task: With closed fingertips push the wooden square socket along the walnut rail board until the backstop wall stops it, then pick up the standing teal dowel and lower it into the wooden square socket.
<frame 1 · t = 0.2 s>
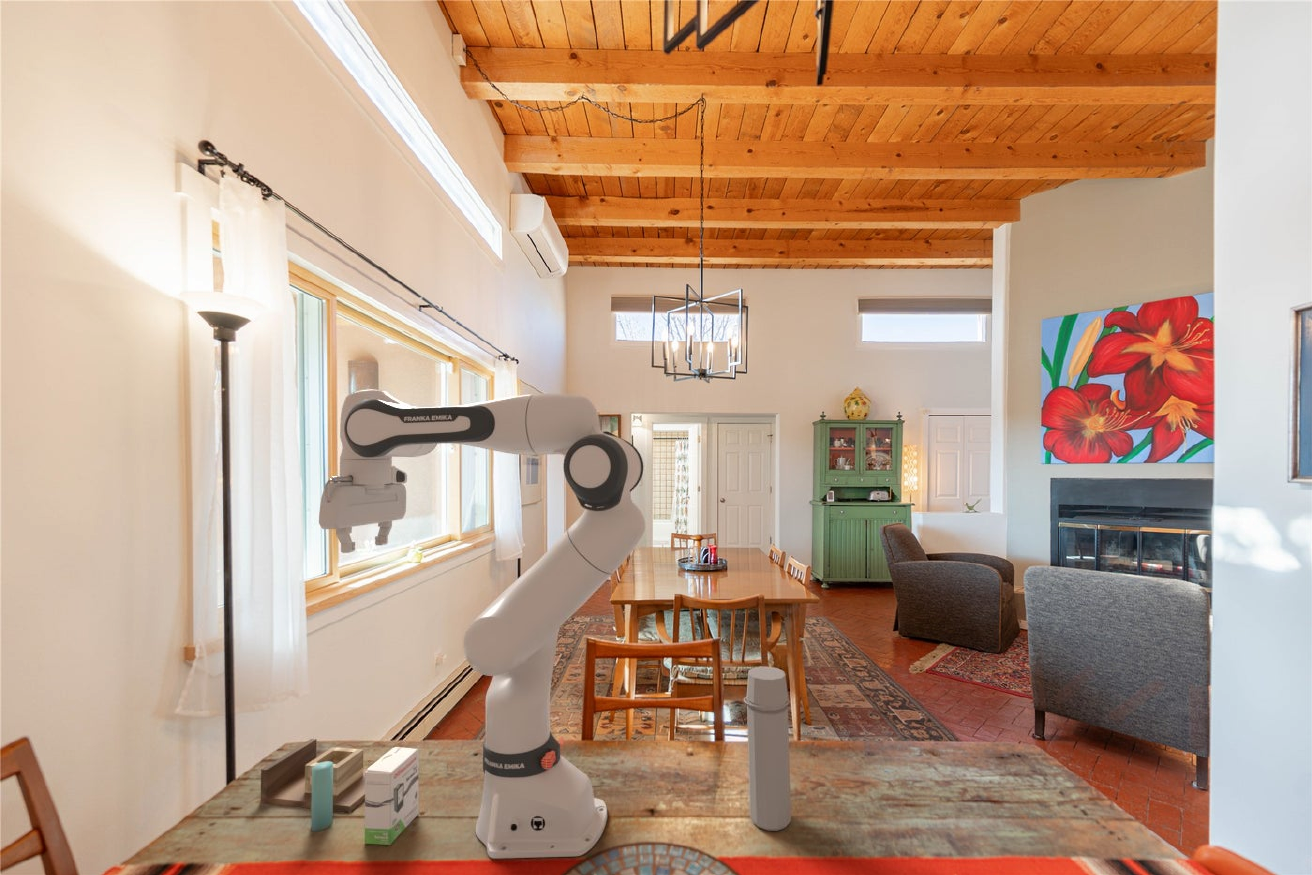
hand: (365, 548, 105), 47 cm above the table, fingers open, 8 cm apart
wooden square socket: (334, 770, 108), point 4 cm above the table, slide at 0.0 cm
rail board: (329, 788, 108), on the table
water bottle: (768, 817, 97), on the table
dowel: (321, 824, 97), on the table
ink box: (392, 829, 96), on the table
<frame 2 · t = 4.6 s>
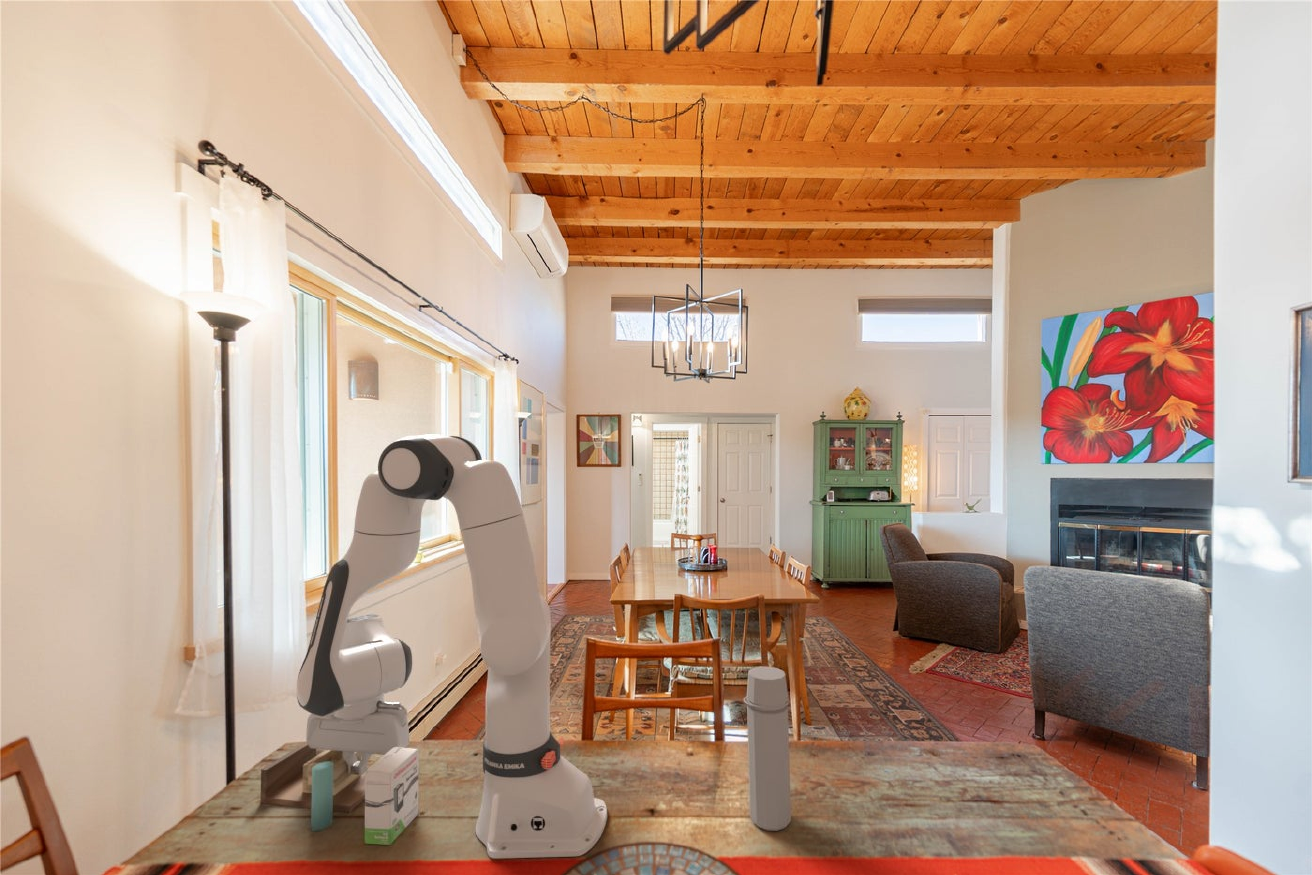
hand: (357, 772, 107), 3 cm above the table, fingers closed
wooden square socket: (332, 770, 108), point 4 cm above the table, slide at 0.5 cm, touching gripper
everything else where it was.
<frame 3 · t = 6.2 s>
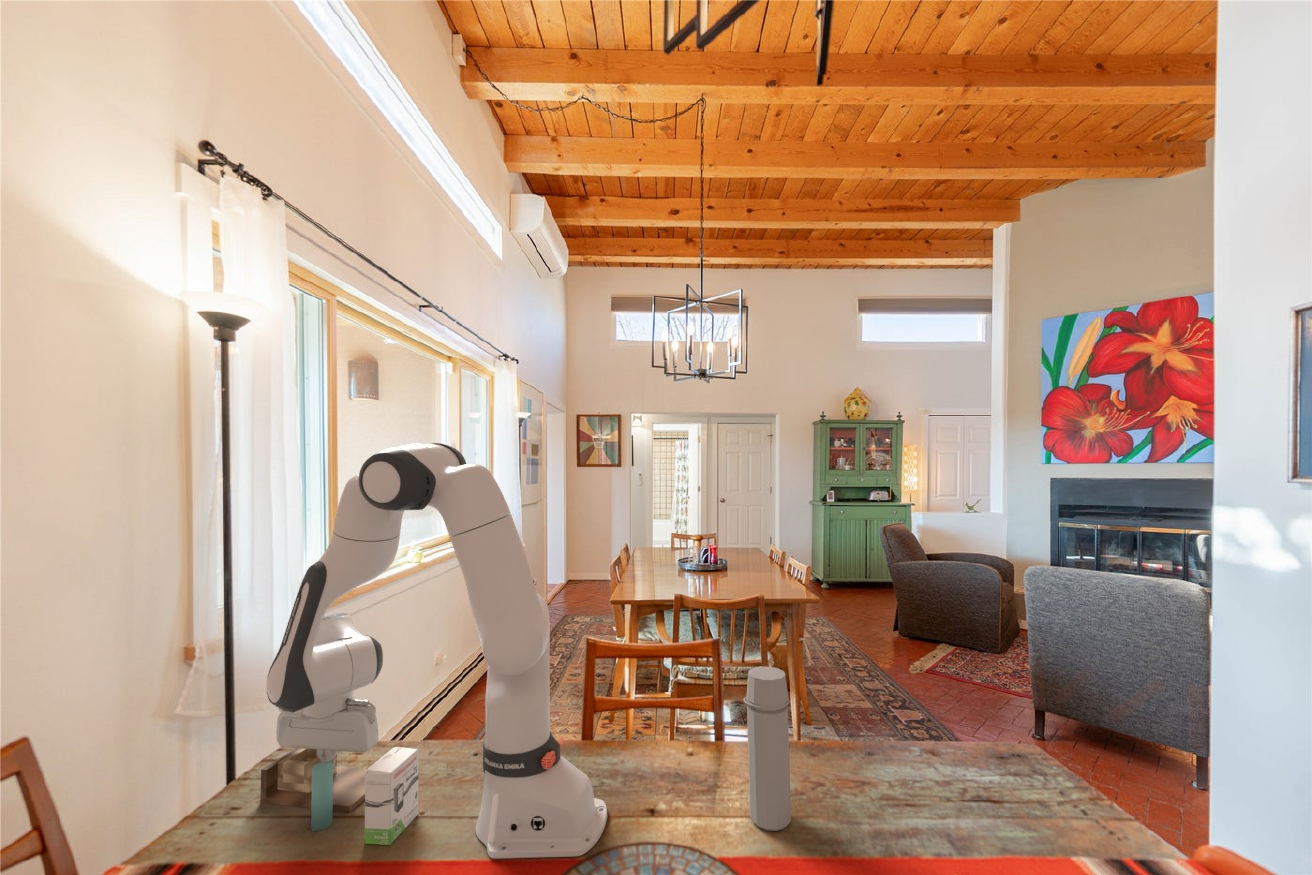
hand: (327, 770, 109), 3 cm above the table, fingers closed, pressing on wooden square socket
wooden square socket: (308, 767, 109), point 4 cm above the table, slide at 6.0 cm, touching gripper, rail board
everything else where it was.
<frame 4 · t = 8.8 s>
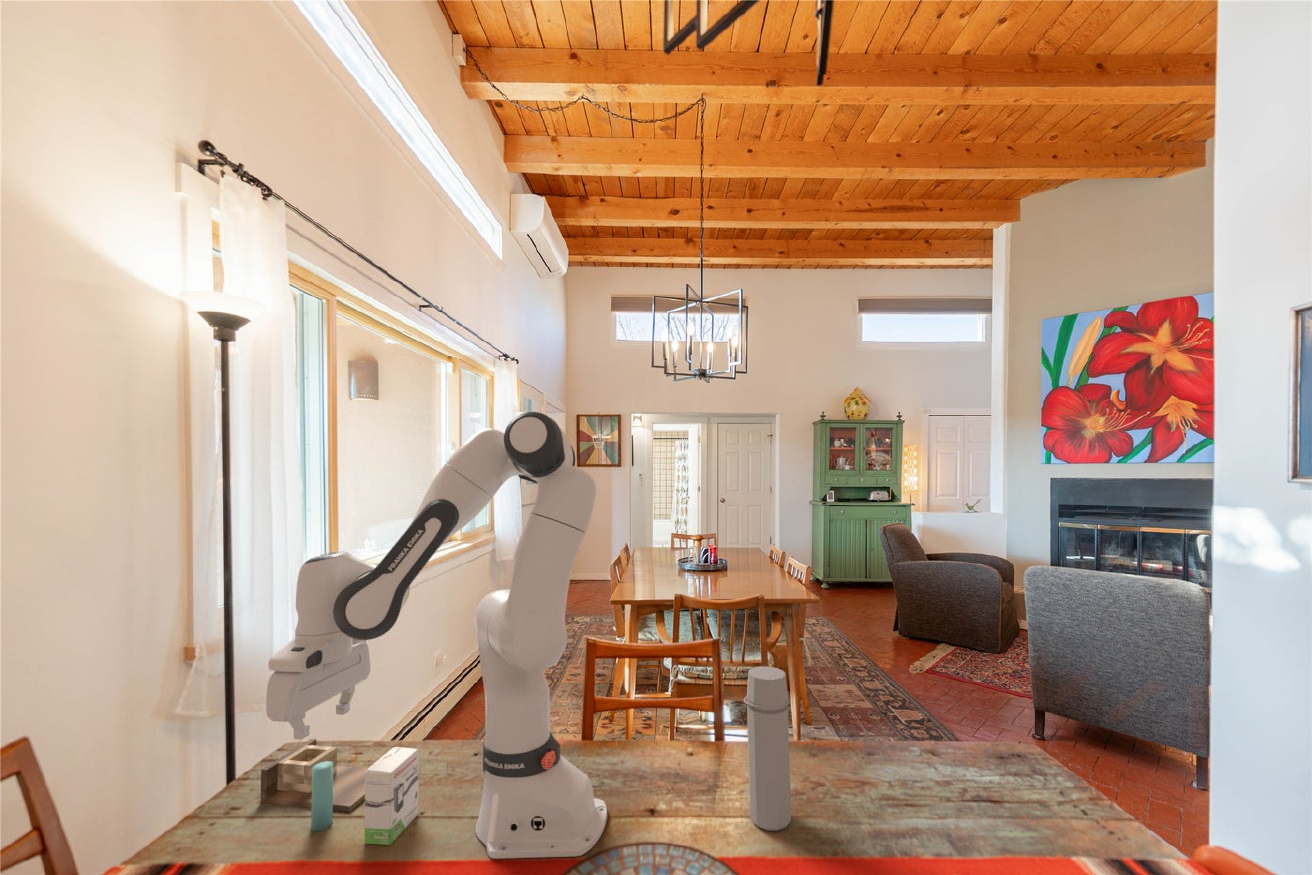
hand: (323, 724, 98), 17 cm above the table, fingers open, 8 cm apart
wooden square socket: (308, 767, 109), point 4 cm above the table, slide at 6.0 cm, touching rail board
everything else where it was.
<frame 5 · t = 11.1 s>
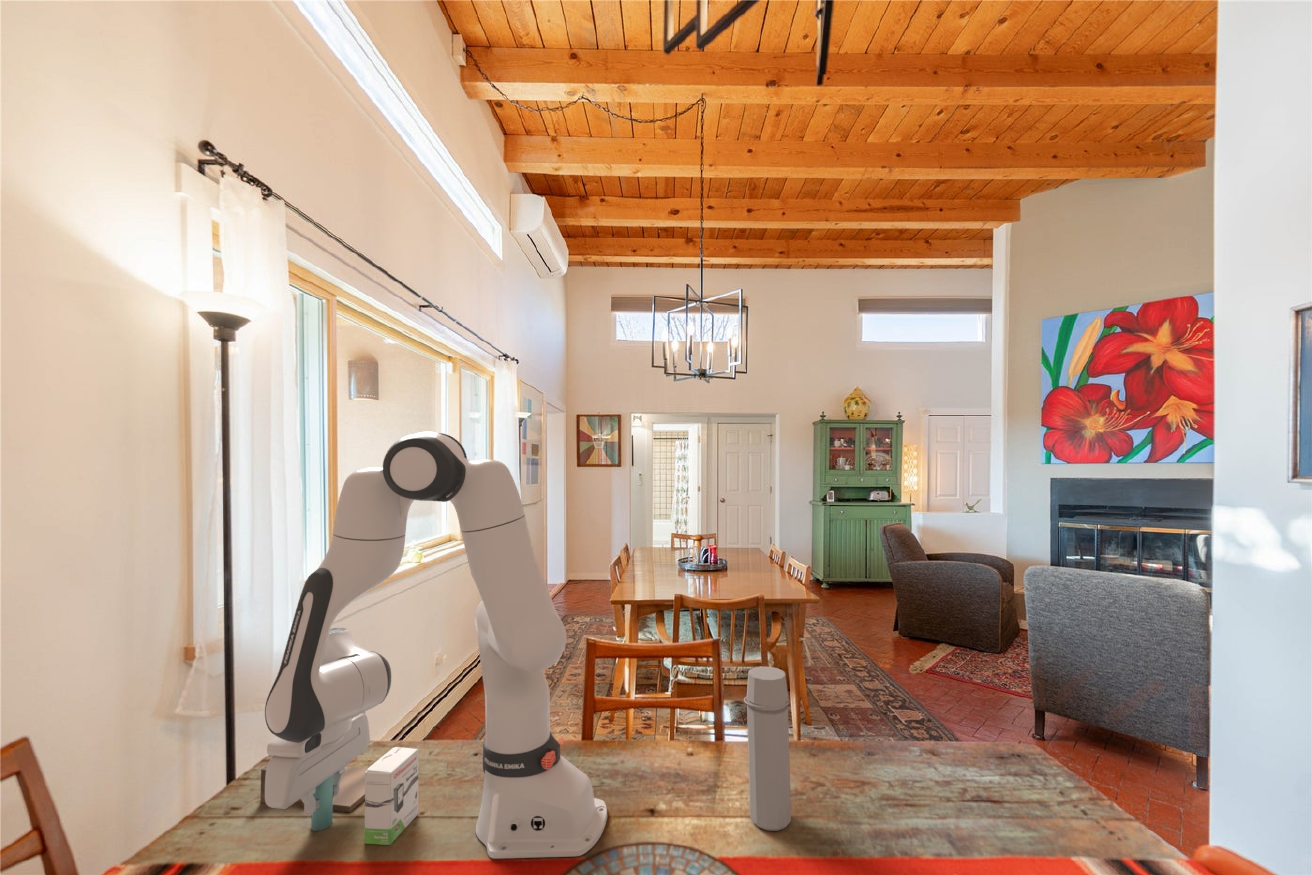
hand: (322, 803, 97), 4 cm above the table, fingers closed on dowel, 3 cm apart
dowel: (321, 824, 97), on the table, touching gripper
everything else where it was.
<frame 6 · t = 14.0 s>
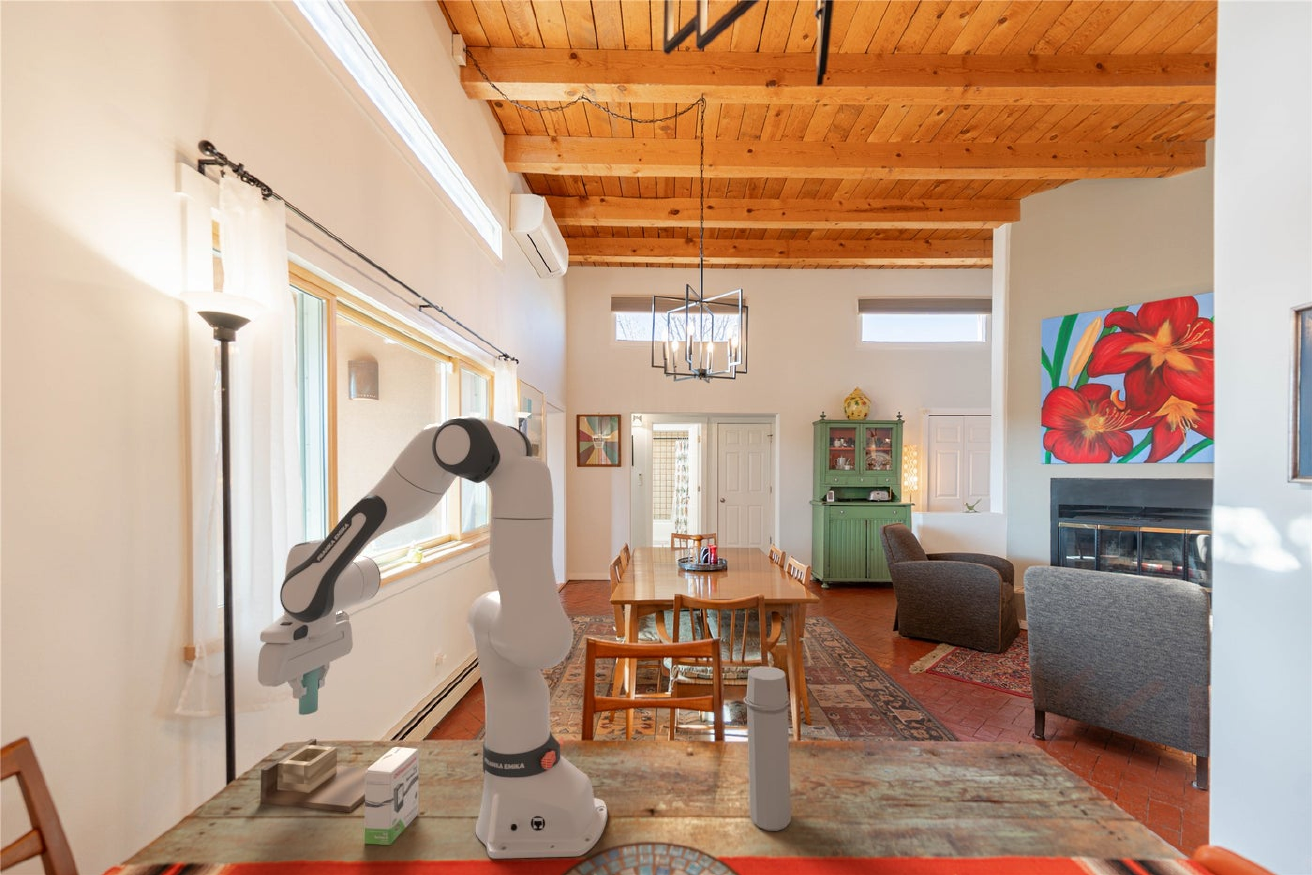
hand: (309, 692, 110), 18 cm above the table, fingers closed on dowel, 3 cm apart
dowel: (308, 711, 110), point 14 cm above the table, touching gripper
everything else where it was.
when the fingers open (7 cm above the table, at t = 17.0 s): dowel drops 1 cm, resting on wooden square socket.
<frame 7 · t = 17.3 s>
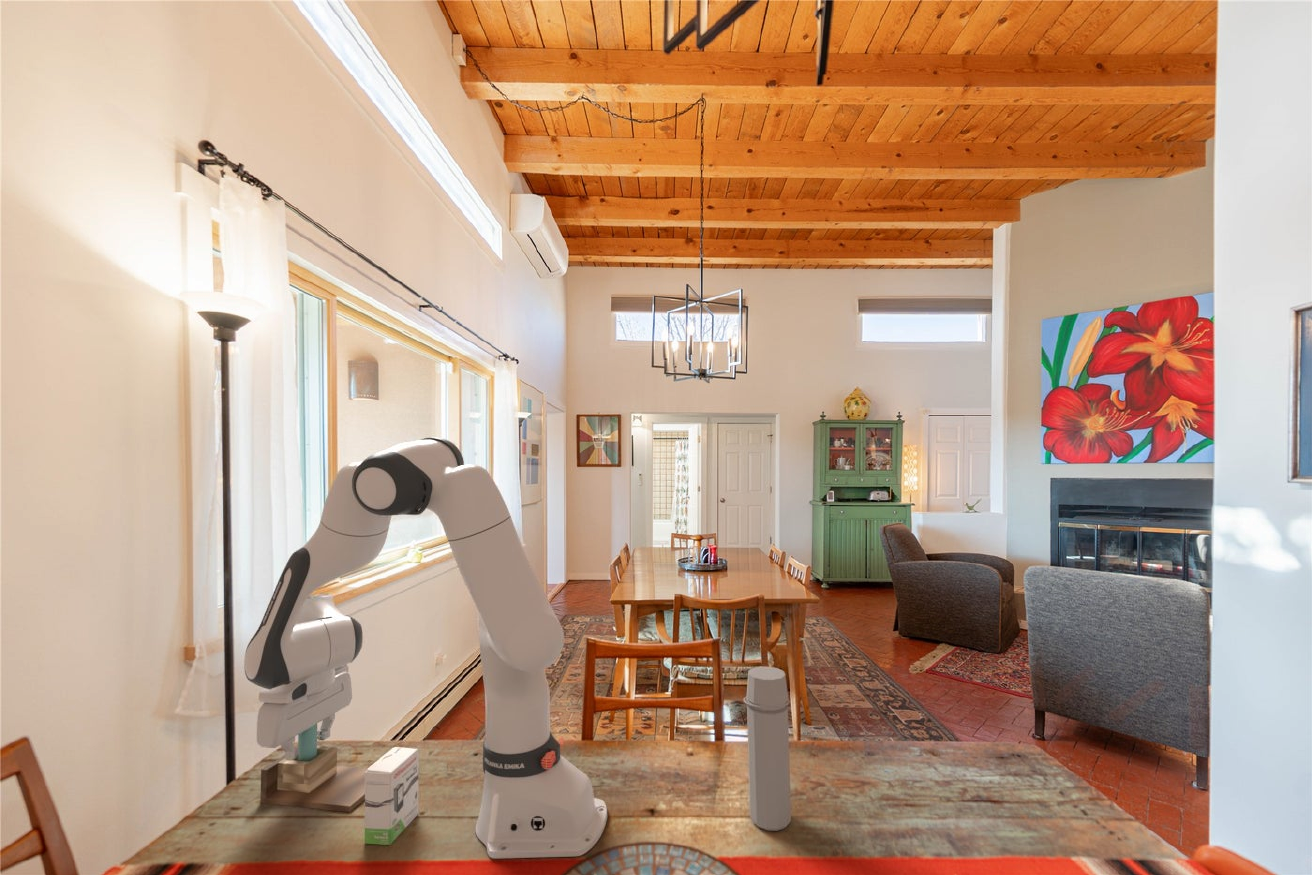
hand: (308, 748, 110), 7 cm above the table, fingers open, 6 cm apart
wooden square socket: (308, 767, 109), point 4 cm above the table, slide at 6.0 cm, touching dowel, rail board
dowel: (307, 773, 109), point 3 cm above the table, touching wooden square socket
everything else where it was.
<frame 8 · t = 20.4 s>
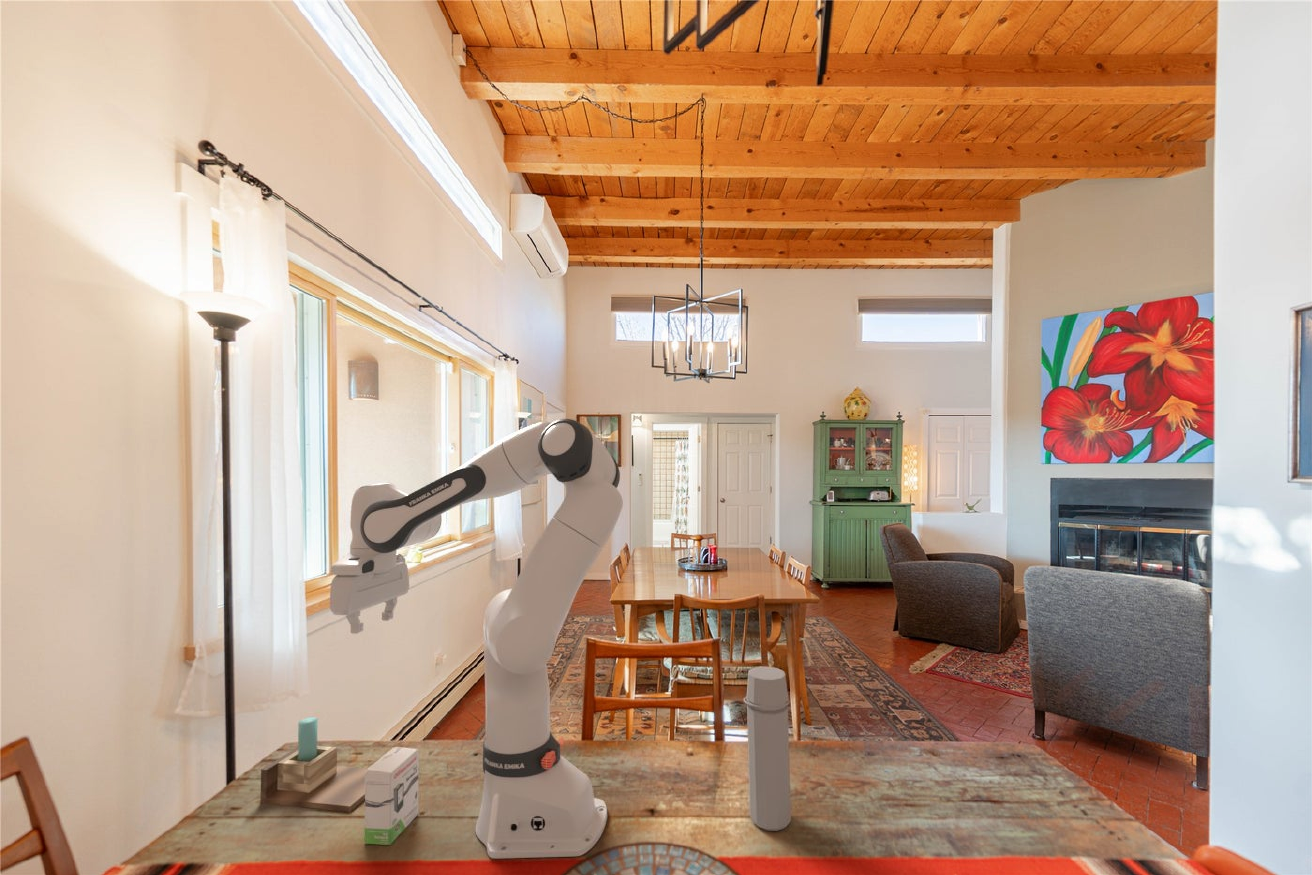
hand: (372, 625, 117), 29 cm above the table, fingers open, 8 cm apart
wooden square socket: (308, 767, 109), point 4 cm above the table, slide at 6.0 cm, touching dowel
everything else where it was.
at the end: wooden square socket slide at 6.0 cm; dowel 0.1 cm off-centre on the wooden square socket, point 1.5 cm above the wooden square socket's base; dowel tilted 1° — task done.
